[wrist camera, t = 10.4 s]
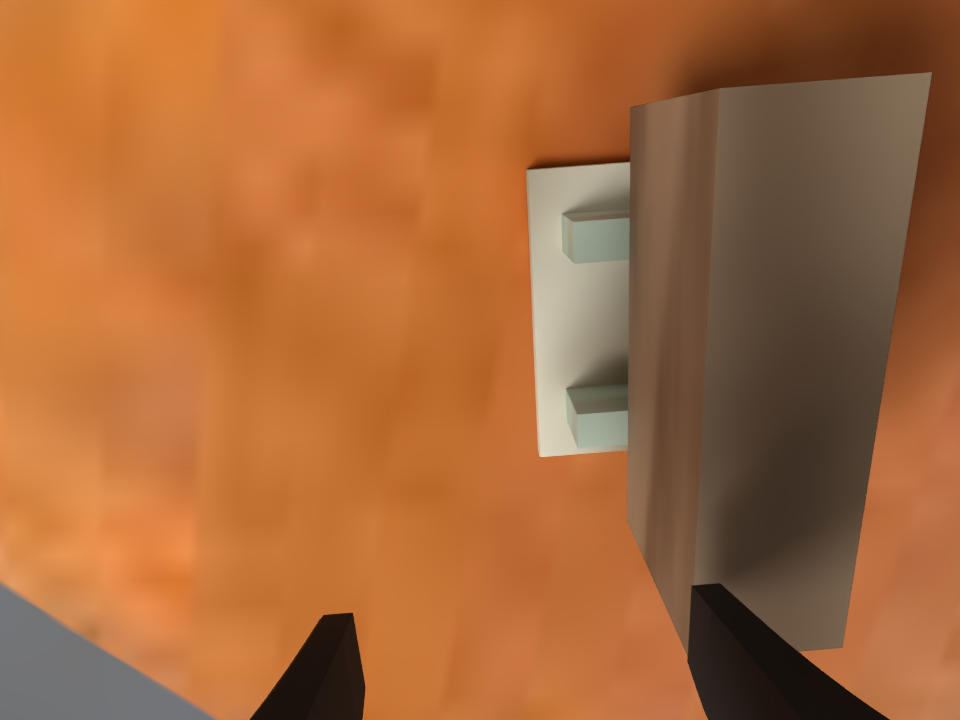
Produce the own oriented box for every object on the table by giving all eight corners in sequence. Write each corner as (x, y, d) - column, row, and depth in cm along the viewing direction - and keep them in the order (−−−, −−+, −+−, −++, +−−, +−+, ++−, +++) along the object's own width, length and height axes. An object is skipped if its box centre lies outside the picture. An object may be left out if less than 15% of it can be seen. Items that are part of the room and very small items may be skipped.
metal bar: (770, 96, 17) (931, 72, 11) (738, 511, 21) (842, 647, 15) (630, 107, 17) (719, 88, 11) (626, 520, 21) (689, 660, 15)
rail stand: (805, 148, 20) (858, 149, 17) (777, 430, 23) (818, 467, 21) (526, 169, 20) (536, 173, 17) (537, 449, 23) (548, 488, 20)
